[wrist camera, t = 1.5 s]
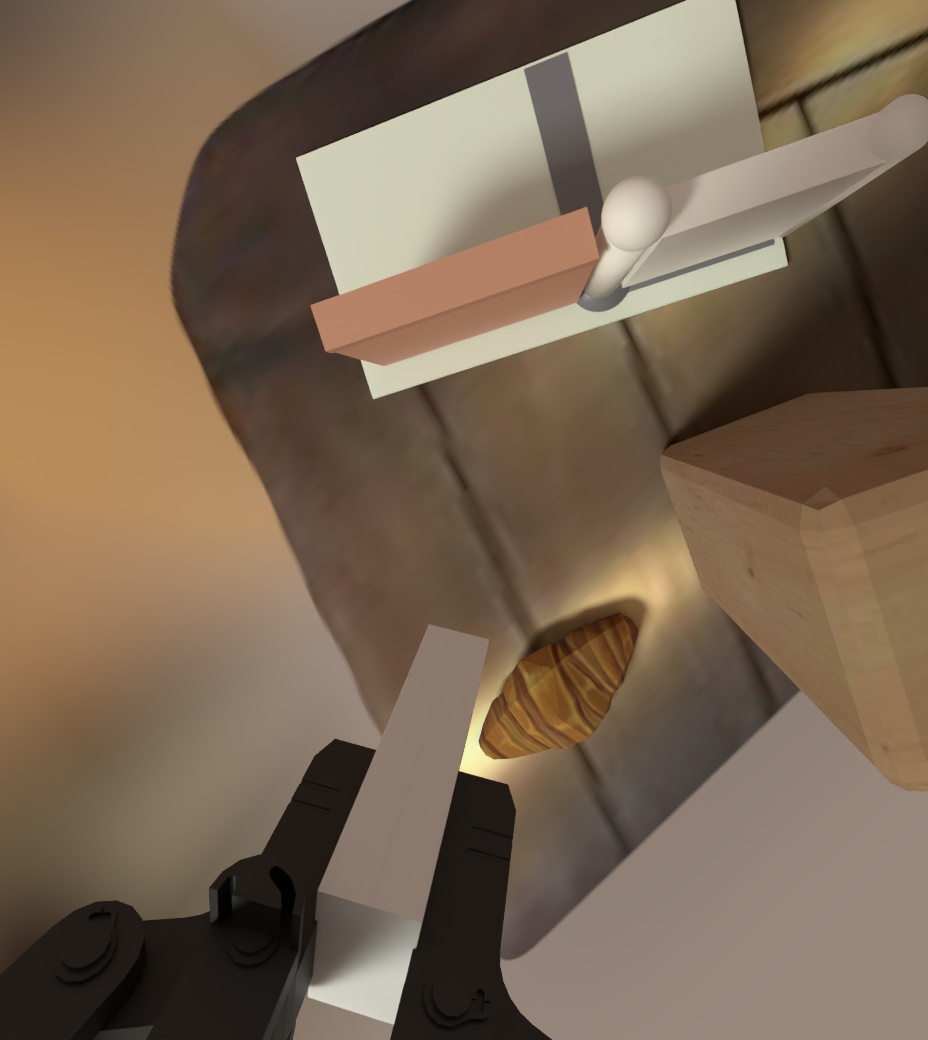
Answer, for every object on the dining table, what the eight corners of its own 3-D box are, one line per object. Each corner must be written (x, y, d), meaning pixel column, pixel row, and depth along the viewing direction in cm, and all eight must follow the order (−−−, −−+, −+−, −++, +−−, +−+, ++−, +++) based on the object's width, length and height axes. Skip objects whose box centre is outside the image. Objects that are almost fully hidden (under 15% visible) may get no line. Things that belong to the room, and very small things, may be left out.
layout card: (729, -13, 30) (732, -20, 30) (784, 266, 32) (788, 264, 32) (298, 160, 34) (295, 157, 33) (374, 399, 36) (372, 398, 36)
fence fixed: (795, 187, 31) (972, 41, 19) (805, 236, 31) (984, 125, 19) (571, 263, 33) (598, 177, 21) (583, 308, 33) (616, 251, 21)
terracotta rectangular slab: (568, 269, 33) (586, 206, 22) (577, 304, 33) (599, 258, 23) (374, 335, 35) (310, 305, 24) (384, 367, 35) (325, 351, 25)
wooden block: (650, 450, 35) (805, 504, 15) (818, 386, 33) (1229, 357, 14) (702, 596, 36) (904, 815, 17) (865, 543, 35) (1301, 717, 15)
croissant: (521, 772, 41) (520, 822, 36) (452, 708, 40) (442, 750, 35) (666, 650, 38) (686, 686, 33) (593, 579, 37) (603, 605, 32)
